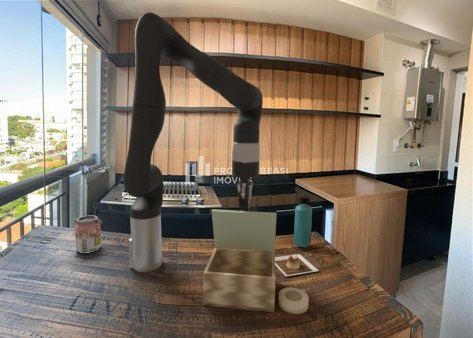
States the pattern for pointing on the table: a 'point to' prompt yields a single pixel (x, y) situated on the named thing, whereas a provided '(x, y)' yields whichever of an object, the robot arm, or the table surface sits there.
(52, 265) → the table surface
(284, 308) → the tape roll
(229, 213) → the lid
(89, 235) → the beverage can
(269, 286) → the crate
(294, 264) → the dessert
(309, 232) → the beverage bottle
